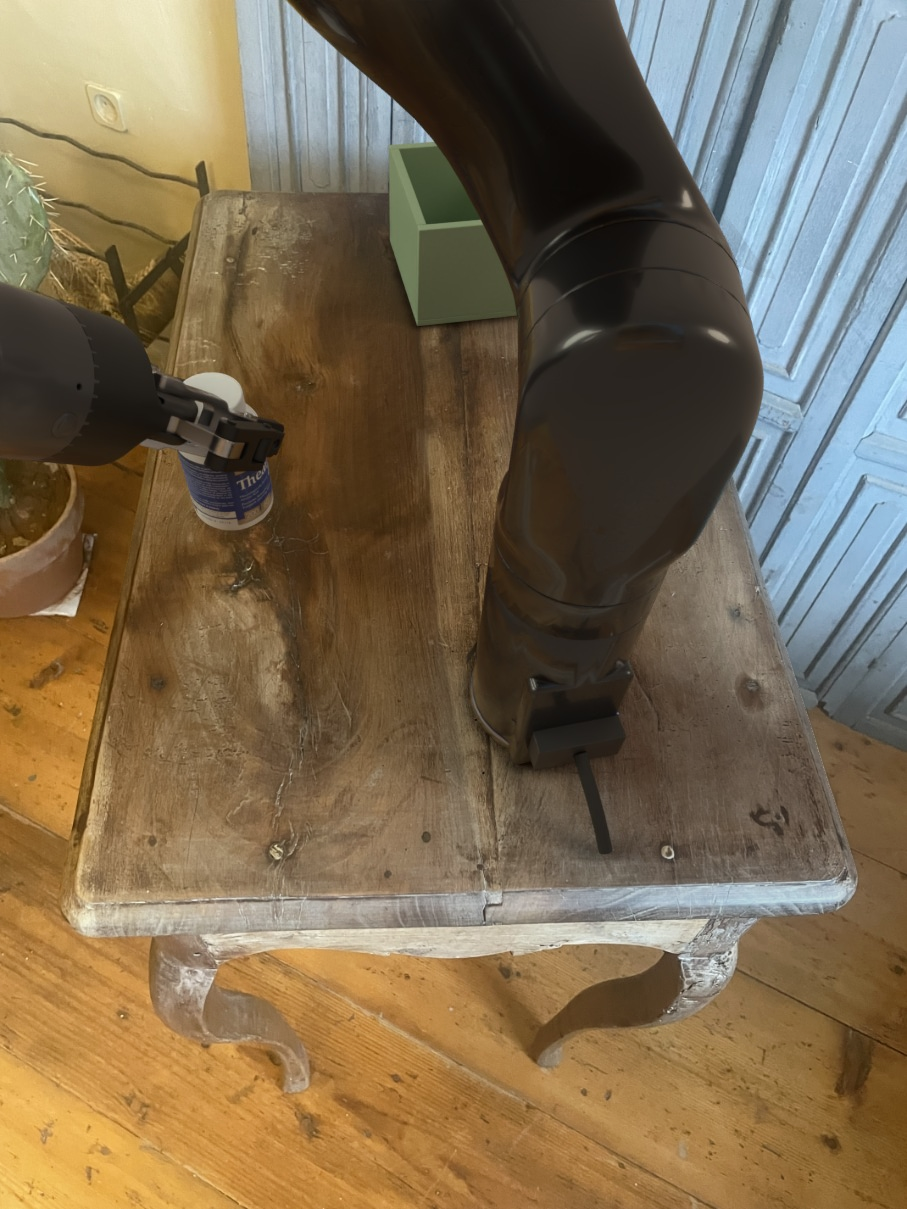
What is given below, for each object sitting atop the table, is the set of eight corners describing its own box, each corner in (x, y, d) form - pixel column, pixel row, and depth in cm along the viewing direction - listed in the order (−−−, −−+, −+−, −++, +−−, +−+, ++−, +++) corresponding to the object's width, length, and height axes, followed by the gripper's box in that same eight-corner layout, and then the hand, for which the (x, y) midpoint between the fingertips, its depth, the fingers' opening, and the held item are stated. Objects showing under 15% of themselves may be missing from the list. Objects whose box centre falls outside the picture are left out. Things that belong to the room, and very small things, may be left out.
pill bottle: (260, 540, 58) (236, 432, 50) (183, 525, 58) (147, 416, 50) (285, 481, 61) (266, 371, 53) (211, 468, 61) (182, 357, 53)
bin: (548, 312, 82) (563, 217, 74) (417, 326, 80) (418, 230, 72) (510, 229, 89) (521, 135, 81) (389, 240, 87) (388, 144, 79)
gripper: (171, 357, 37) (352, 409, 52) (-63, 242, 40) (171, 322, 56) (115, 519, 38) (307, 522, 54) (-105, 393, 42) (134, 430, 58)
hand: (237, 420), depth 55 cm, fingers closed on pill bottle, 5 cm apart
